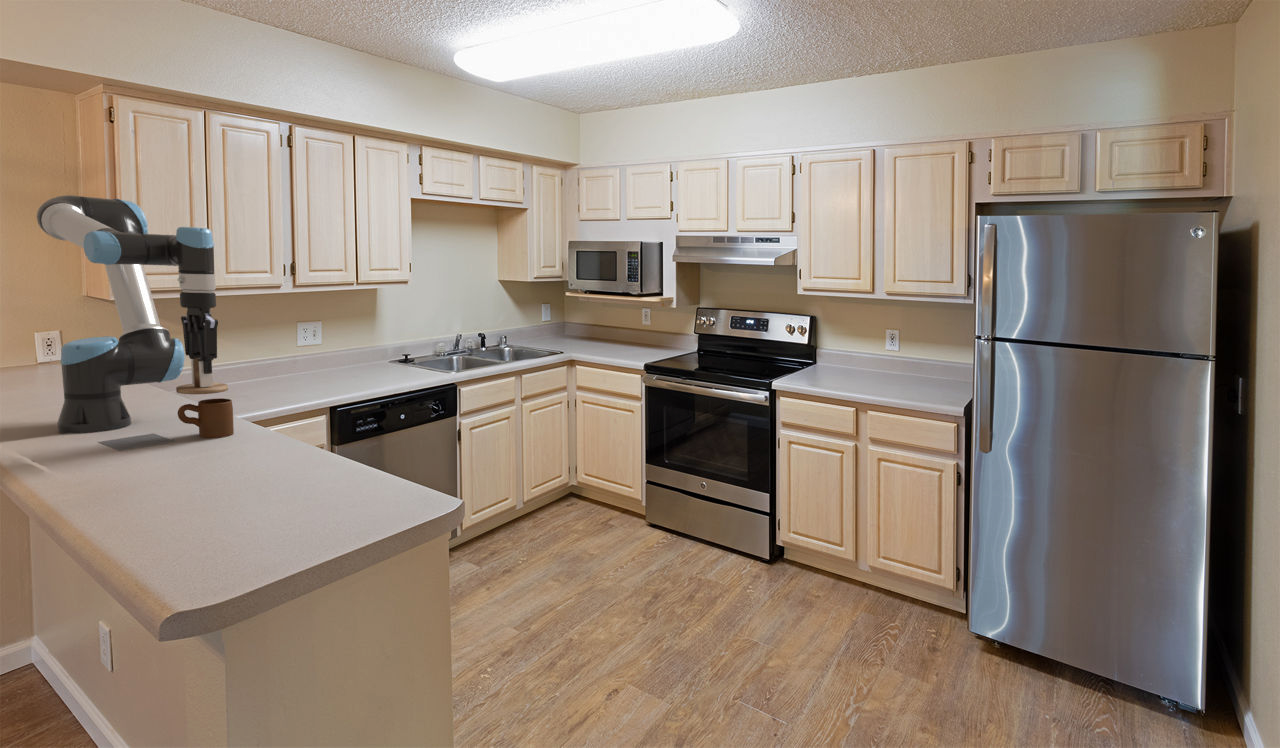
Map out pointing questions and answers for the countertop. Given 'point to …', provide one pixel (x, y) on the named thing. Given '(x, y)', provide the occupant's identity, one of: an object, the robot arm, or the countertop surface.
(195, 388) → the lid
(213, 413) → the mug
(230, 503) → the countertop surface
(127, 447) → the mat
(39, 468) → the countertop surface
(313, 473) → the countertop surface
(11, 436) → the countertop surface
